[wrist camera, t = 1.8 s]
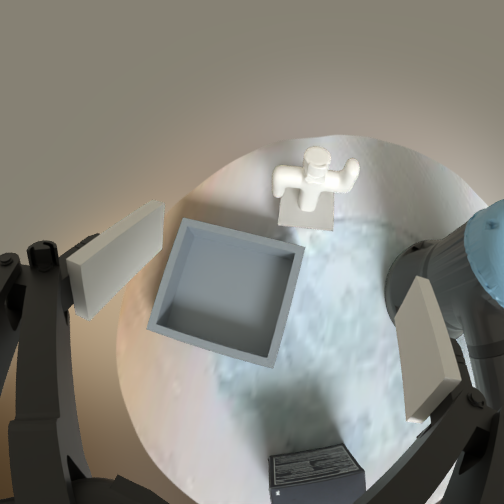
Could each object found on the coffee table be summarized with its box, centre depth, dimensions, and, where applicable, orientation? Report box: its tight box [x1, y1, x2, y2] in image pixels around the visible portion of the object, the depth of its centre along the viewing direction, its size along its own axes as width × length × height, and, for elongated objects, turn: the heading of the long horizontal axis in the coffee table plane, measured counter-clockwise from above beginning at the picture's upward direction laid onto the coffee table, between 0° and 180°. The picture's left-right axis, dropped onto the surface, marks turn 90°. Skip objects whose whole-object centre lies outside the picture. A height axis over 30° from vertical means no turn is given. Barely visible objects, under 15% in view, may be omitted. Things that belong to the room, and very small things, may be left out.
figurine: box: [272, 146, 360, 231], centre depth 38 cm, size 7×9×15 cm
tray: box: [147, 217, 305, 368], centre depth 41 cm, size 16×15×5 cm
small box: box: [268, 444, 366, 504], centre depth 31 cm, size 11×6×10 cm, turn 98°
